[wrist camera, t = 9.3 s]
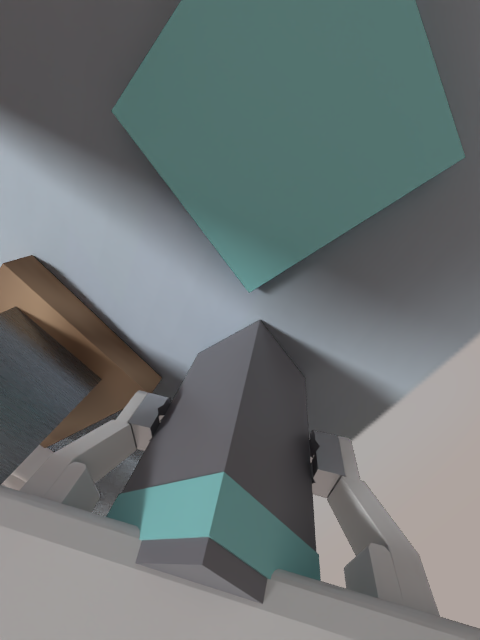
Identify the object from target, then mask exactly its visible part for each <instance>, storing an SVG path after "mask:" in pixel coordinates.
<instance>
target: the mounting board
mask: <svg viewBox="0 0 480 640" xmlns="http://www.w3.org/2000/svg"><path fill="white" fill-rule="evenodd" d="M15 306H16V307H17V308H19V309H20V310H21V311H22V312H23V313H25V314H26V315H27V316H28V317H29V318H30V319H32V320H33V321H34V322H35V323H36V324H37V325H39V326H40V327H41V328H42V329H43V330H45V331H46V332H47V333H48V334H49V335H50V336H52V337H53V338H54V339H55V340H56V341H58V342H59V343H60V344H61V345H62V346H63V347H65V348H66V349H67V350H68V351H69V352H70V353H72V354H73V355H74V356H75V357H76V358H78V359H79V360H80V361H81V362H82V363H83V364H85V365H86V366H87V367H88V368H89V369H90V370H92V371H93V372H94V373H95V374H96V375H98V376H99V377H100V378H101V379H102V380H101V381H100V382H99V383H98V384H97V385H96V386H95V387H94V388H93V389H92V390H91V391H90V392H89V393H88V395H87V396H86V397H85V398H84V399H83V400H82V401H81V402H80V403H79V404H78V405H77V406H76V407H75V408H74V409H73V410H72V411H71V412H70V413H69V414H68V415H67V416H66V417H65V418H64V419H63V421H62V422H61V423H60V424H59V425H58V426H57V427H56V428H55V429H54V430H53V431H52V432H51V433H50V434H49V435H48V436H47V437H46V438H45V439H44V440H43V441H42V442H41V443H40V444H39V445H41V446H42V447H44V448H46V447H48V446H50V445H52V444H54V443H56V442H58V441H60V440H62V439H64V438H66V437H68V436H70V435H72V434H74V433H76V432H78V431H80V430H82V429H84V428H86V427H88V426H90V425H92V424H94V423H96V422H98V421H100V420H102V419H104V418H106V417H108V416H110V415H112V414H114V413H116V412H118V411H120V410H122V409H124V408H125V407H126V405H127V404H128V403H129V401H130V400H131V398H132V397H133V396H134V394H135V393H136V392H138V391H139V390H140V391H144V392H149V393H152V392H153V391H154V389H155V388H156V386H157V385H158V383H159V382H160V380H161V379H162V378H161V377H160V376H159V375H158V374H157V373H156V372H155V371H154V370H153V369H152V368H151V367H150V366H149V365H148V364H147V363H145V362H144V361H143V360H142V359H141V358H140V357H139V356H138V355H137V354H136V353H135V352H134V351H133V350H132V349H131V348H130V347H129V346H128V345H126V344H125V343H124V342H123V341H122V340H121V339H120V338H119V337H118V336H117V335H116V334H115V333H114V332H113V331H112V330H111V329H110V328H109V327H107V326H106V325H105V324H104V323H103V322H102V321H101V320H100V319H99V318H98V317H97V316H96V315H95V314H94V313H93V312H92V311H91V310H90V309H88V308H87V307H86V306H85V305H84V304H83V303H82V302H81V301H80V300H79V299H78V298H77V297H76V296H75V295H74V294H73V293H72V292H71V291H69V290H68V289H67V288H66V287H65V286H64V285H63V284H62V283H61V282H60V281H59V280H58V279H57V278H56V277H55V276H54V275H53V274H52V273H50V272H49V271H48V270H47V269H46V268H45V267H44V266H43V265H42V264H41V263H40V262H39V261H38V260H37V259H36V258H35V257H34V256H32V255H31V256H27V257H24V258H20V259H17V260H13V261H10V262H6V263H3V264H2V266H1V268H0V313H2V312H4V311H7V310H9V309H11V308H13V307H15Z"/></svg>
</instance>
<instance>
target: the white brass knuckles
mask: <svg viewBox="0 0 480 640" xmlns="http://www.w3.org/2000/svg"><path fill="white" fill-rule="evenodd" d="M52 453H54V452H53V451H51V450H50V449H48V448H47V447H46V448H44V447H42V446H41V445H38V447H37V448H36V449H35V450H34V451H33V452H32V453H31V454H30V455H29V456H28V457H27V458H26V459H25V460H24V461H23V462H22V463H21V464H20V465H19V466H18V467H17V468H16V469H15V470H14V471H13V473H12V474H11V475H10V476H9V477H8V478H7V479H6V480H5V481H4V482H3V483H2V484H1V485H2V486H5V487H8V488H12V489H15V490H18V491H19V490H20V489H21V488H22V487H23V486H24V484H25V483H26V482H27V481H28V480H29V479H30V478H31V477H32V475H33V474H34V473H35V472H36V471H37V470H38V469H39V468H40V466H41V465H42V464H43V463H44V462H45V461H46V460H47V459H48V457H49V456H50V455H51V454H52Z"/></svg>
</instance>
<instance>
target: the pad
mask: <svg viewBox="0 0 480 640" xmlns="http://www.w3.org/2000/svg"><path fill="white" fill-rule="evenodd" d="M112 112H113V114H114V115H115V116H116V118H117V119H118V120H119V122H120V123H121V124H122V126H123V127H124V128H125V130H126V131H127V132H128V134H129V135H130V136H131V138H132V139H133V140H134V142H135V143H136V144H137V145H138V147H139V148H140V149H141V151H142V152H143V153H144V155H145V156H146V157H147V159H148V160H149V161H150V163H151V164H152V165H153V167H154V168H155V169H156V171H157V172H158V173H159V175H160V176H161V177H162V179H163V180H164V181H165V182H166V184H167V185H168V186H169V188H170V189H171V190H172V192H173V193H174V194H175V196H176V197H177V198H178V200H179V201H180V202H181V204H182V205H183V206H184V208H185V209H186V210H187V212H188V213H189V214H190V215H191V217H192V218H193V219H194V221H195V222H196V223H197V225H198V226H199V227H200V229H201V230H202V231H203V233H204V234H205V235H206V237H207V238H208V239H209V241H210V242H211V243H212V245H213V246H214V247H215V249H216V250H217V251H218V252H219V254H220V255H221V256H222V258H223V259H224V260H225V262H226V263H227V264H228V266H229V267H230V268H231V270H232V271H233V272H234V274H235V275H236V276H237V278H238V279H239V280H240V282H241V283H242V284H243V285H244V287H245V288H246V289H247V291H248V292H249V293H250V292H251V291H253V290H255V289H256V288H258V287H259V286H261V285H263V284H264V283H266V282H267V281H269V280H271V279H272V278H274V277H275V276H277V275H278V274H280V273H282V272H283V271H285V270H286V269H288V268H290V267H291V266H293V265H294V264H296V263H298V262H299V261H301V260H302V259H304V258H306V257H307V256H309V255H310V254H312V253H314V252H315V251H317V250H318V249H320V248H322V247H323V246H325V245H326V244H328V243H330V242H331V241H333V240H334V239H336V238H337V237H339V236H341V235H342V234H344V233H345V232H347V231H349V230H350V229H352V228H353V227H355V226H357V225H358V224H360V223H361V222H363V221H365V220H366V219H368V218H369V217H371V216H373V215H374V214H376V213H377V212H379V211H381V210H382V209H384V208H385V207H387V206H389V205H390V204H392V203H393V202H395V201H396V200H398V199H400V198H401V197H403V196H404V195H406V194H408V193H409V192H411V191H412V190H414V189H416V188H417V187H419V186H420V185H422V184H424V183H425V182H427V181H428V180H430V179H432V178H433V177H435V176H436V175H438V174H440V173H441V172H443V171H444V170H446V169H448V168H449V167H451V166H452V165H454V164H455V163H457V162H459V161H460V160H462V159H463V158H465V154H464V151H463V148H462V145H461V142H460V139H459V136H458V132H457V129H456V126H455V123H454V120H453V117H452V114H451V110H450V107H449V104H448V101H447V98H446V95H445V92H444V89H443V85H442V82H441V79H440V76H439V73H438V70H437V67H436V63H435V60H434V57H433V54H432V51H431V48H430V45H429V41H428V38H427V35H426V32H425V29H424V26H423V23H422V20H421V16H420V13H419V10H418V7H417V4H416V1H415V0H181V2H180V3H179V5H178V6H177V8H176V9H175V11H174V13H173V14H172V16H171V17H170V19H169V20H168V22H167V24H166V25H165V27H164V28H163V30H162V32H161V33H160V35H159V36H158V38H157V39H156V41H155V43H154V44H153V46H152V47H151V49H150V51H149V52H148V54H147V55H146V57H145V58H144V60H143V62H142V63H141V65H140V66H139V68H138V69H137V71H136V73H135V74H134V76H133V77H132V79H131V81H130V82H129V84H128V85H127V87H126V88H125V90H124V92H123V93H122V95H121V96H120V98H119V99H118V101H117V103H116V104H115V106H114V107H113V109H112Z"/></svg>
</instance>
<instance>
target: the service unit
mask: <svg viewBox="0 0 480 640" xmlns="http://www.w3.org/2000/svg"><path fill="white" fill-rule="evenodd" d="M101 380H102V379H101V378H100V377H99V376H98V375H96V374H95V373H94V372H93V371H92V370H90V369H89V368H88V367H87V366H86V365H85V364H83V363H82V362H81V361H80V360H79V359H78V358H76V357H75V356H74V355H73V354H72V353H70V352H69V351H68V350H67V349H66V348H65V347H63V346H62V345H61V344H60V343H59V342H58V341H56V340H55V339H54V338H53V337H52V336H50V335H49V334H48V333H47V332H46V331H45V330H43V329H42V328H41V327H40V326H39V325H37V324H36V323H35V322H34V321H33V320H32V319H30V318H29V317H28V316H27V315H26V314H25V313H23V312H22V311H21V310H20V309H19V308H17V307H16V306H15V307H13V308H11V309H9V310H7V311H4V312H2V313H0V485H1V484H2V483H3V482H4V481H5V480H6V479H7V478H8V477H9V476H10V475H11V474H12V473H13V471H14V470H15V469H16V468H17V467H18V466H19V465H20V464H21V463H22V462H23V461H24V460H25V459H26V458H27V457H28V456H29V455H30V454H31V453H32V452H33V451H34V450H35V449H36V448H37V447H38V445H39V444H40V443H41V442H42V441H43V440H44V439H45V438H46V437H47V436H48V435H49V434H50V433H51V432H52V431H53V430H54V429H55V428H56V427H57V426H58V425H59V424H60V423H61V422H62V421H63V419H64V418H65V417H66V416H67V415H68V414H69V413H70V412H71V411H72V410H73V409H74V408H75V407H76V406H77V405H78V404H79V403H80V402H81V401H82V400H83V399H84V398H85V397H86V396H87V395H88V393H89V392H90V391H91V390H92V389H93V388H94V387H95V386H96V385H97V384H98V383H99V382H100V381H101Z"/></svg>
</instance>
